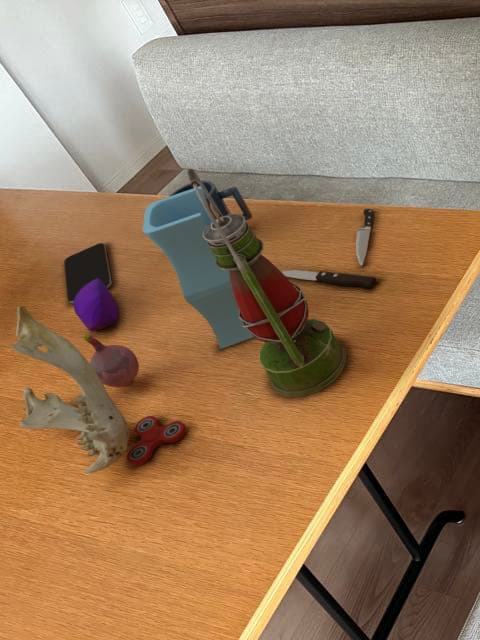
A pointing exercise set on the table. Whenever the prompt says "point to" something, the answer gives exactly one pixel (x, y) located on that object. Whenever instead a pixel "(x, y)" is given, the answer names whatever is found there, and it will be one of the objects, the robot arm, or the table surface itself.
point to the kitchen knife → (333, 278)
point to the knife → (363, 236)
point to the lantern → (272, 307)
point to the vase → (196, 262)
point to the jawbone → (94, 406)
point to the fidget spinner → (153, 438)
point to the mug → (220, 198)
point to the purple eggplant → (95, 305)
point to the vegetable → (113, 363)
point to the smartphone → (86, 269)
